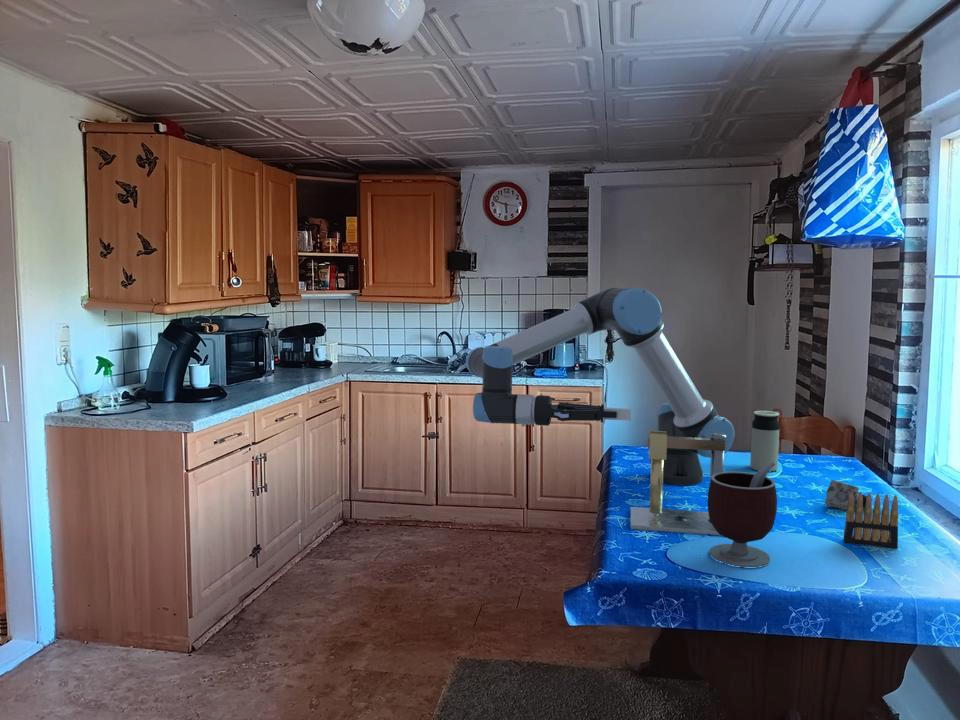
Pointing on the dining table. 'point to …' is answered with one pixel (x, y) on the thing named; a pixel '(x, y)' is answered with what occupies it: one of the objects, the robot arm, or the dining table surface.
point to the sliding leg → (657, 469)
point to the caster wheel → (841, 495)
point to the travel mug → (764, 440)
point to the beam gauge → (682, 518)
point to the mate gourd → (742, 514)
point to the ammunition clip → (872, 522)
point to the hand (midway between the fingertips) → (630, 414)
